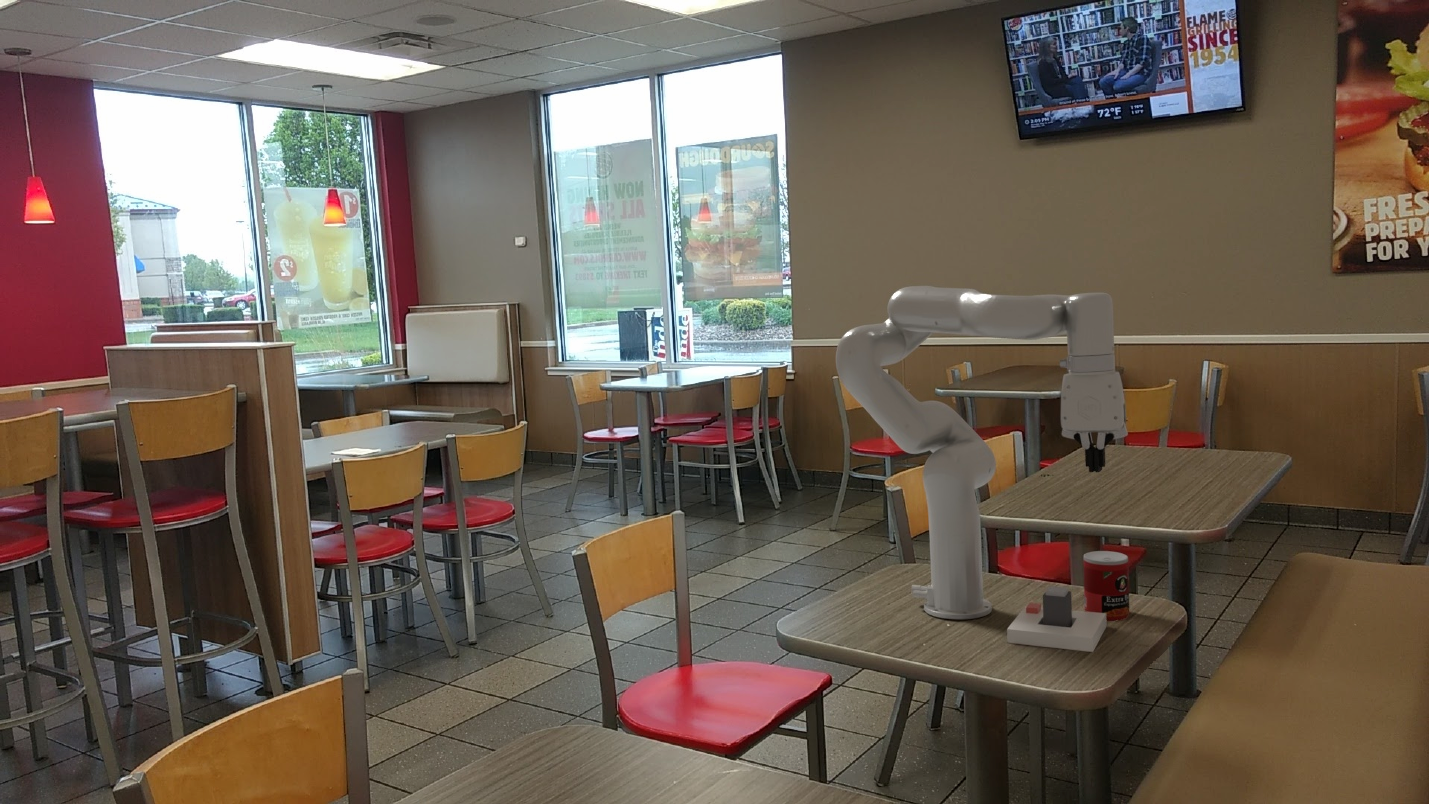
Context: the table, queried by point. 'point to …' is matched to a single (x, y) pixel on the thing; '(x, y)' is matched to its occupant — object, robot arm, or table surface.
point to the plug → (1057, 607)
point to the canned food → (1106, 584)
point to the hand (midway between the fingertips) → (1095, 470)
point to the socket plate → (1057, 630)
